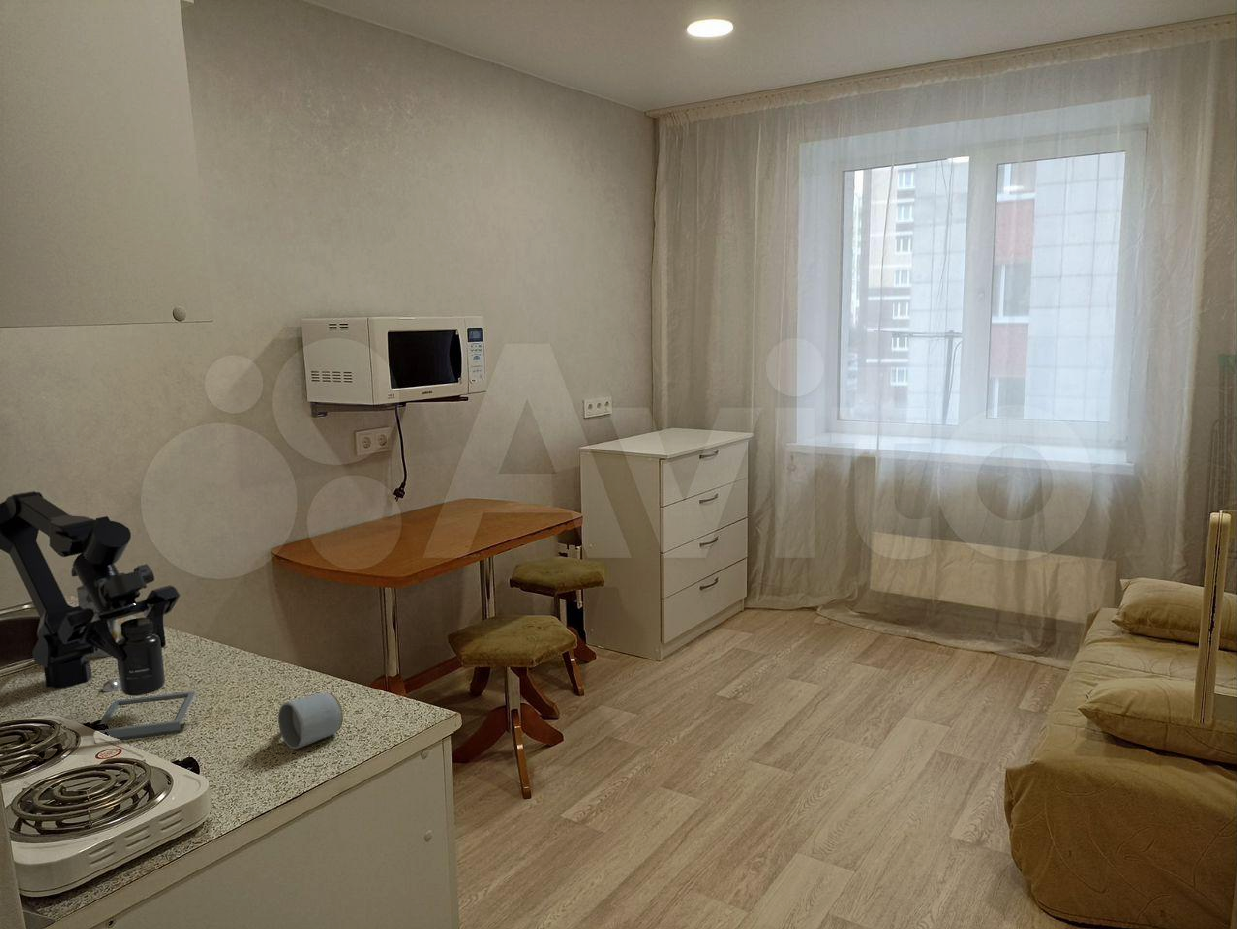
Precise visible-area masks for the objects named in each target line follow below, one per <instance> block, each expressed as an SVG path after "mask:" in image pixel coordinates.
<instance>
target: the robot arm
mask: <svg viewBox="0 0 1237 929" xmlns="http://www.w3.org/2000/svg"><path fill="white" fill-rule="evenodd" d="M39 531H41V533H43V534H44V535H46V536H47V537H48V538H49V547H50V548H51V549H52V550H53V552H55V553H56V554H57V555H58V556H60V557H62V558H65V557H66V558H67V557H71V556H76V555H77V557H76V558H75V560H74V561H73V564H72V569H71V571H70V572H71V576H72V577H73V578H74V577H78V579H79V581H80V583H81V584H82V585H83V586H84V588H85V589H86V591H87V593H88V595H87V597H86V599H87V601H88V603H89V602H93V604H94V605H95V607H96V609H97V611H98V612H99V613H97V612H93V610H92V609H90V608H86V609H83V608H82V607H80V606H79V605H76V606H73V605H70V604H69V603H68V602H67V600H66V598H65V596H64V594H63V592H62V590H61V588H60V586H59V584H58V582H57V580H56V577H55V576H54V573H53V572H52V570H51V568H50V566H49V564H48V561H47V560H46V558H45V556H44V553H43V552H42V550H41V548H40V545H39V543H38V541H37V539H38V535H39V533H40V532H39ZM131 534H132V532H131V530H130V529H129V527H127V526H126V525H124V524H123V523H121V522H118V521H115V520H111V519H110V518H109V516H108V515H104V516H100V517H96V518H95V519H94V518H91V517H89V516H88V517H87V516H85V515H71V514H69V513H68V512H66V511H64V510H63V509H62V508H60V507H58V506H56V505H55V504H53V503H52V502H51V501H49V500H47V499H46V498H45V497H43V494H42V493H41V492H40V491H35V490H33V491H32V490H31V491H26V492H21V493H19V492H18V493H15V494H14V493H13V494H12V495H10V496H7V498H6V499H5V500H4V501H3V502H1V503H0V550H1V551H2V552H5V553H7V554H8V555H9V556H10V558H11V560H12V562H13V564H14V566H15V568H16V570H17V572H18V575H19V576H20V579H21V580H22V582H23V585H24V587H25V589H26V591H27V593H28V595H29V597H30V600H31V601H32V604H33V605H34V608H35V609H36V612H37V614H38V616H39V618H40V620H39V624H38V626H37V627H38V628H37V631H36V635H37V639H38V640H37V641H36V643H35V646H34V648H33V649H32V651H31V653H32V658H33V660H34V663H35V664H37V665H39V666H41V667H43V670H44V678H45V686H46V688H53V689H65V688H70V687H74V686H75V687H76V686H78V685H81V684H82V685H83V684H87V683H89V682H90V680H91V679H92V677H93V675H92V668H91V661H89V660H87V658H86V655H87V654H92V653H94V647H96V648H98V649H100V650H102V651H104V652H106V653H107V654H109V655H111V656H110V657H112V658H114V659H115V660H116V661H117V660H119V661H123V660H124V659H125V657H124V655H123V652H122V650H121V648H120V647H119V645H118V644H117V642H116V640H115V639H114V637H113V636H112V634H111V632H110V631H109V628H108V623H107V622H110V621H113V620H116V619H120V618H123V617H127V616H130V615H132V616H133V615H137V614H139V613H142V614H143V615H144V616H145V617H144V618H149V619H151V620H152V625H153V631H152V632H153V633H155V634H157V635H158V636H159V637H160V639H161V647H162V649H163V648H165V647H166V645H167V643H166V635H165V629H164V615H167V614H169V613H170V612H172V610H173V608H174V607H175V605H176V604H177V602H178V600H179V599H180V597H181V594H180V593H179V591H178V589H177V588H176V587H175V586H173V585H167V586H163V587H159V588H155V589H152V590H151V591H150V592H149V594H148V596H147V597H146V599H143V600H139V601H136V599H137V598H140V595H141V592H140V590H142V589H147V588H148V586H147V584H150V583H152V582H154V580H155V576H154V572H153V570H152V569H151V567H150V566H149V565H148V564H147V563H146V564H143V565H142V564H141V565H138V566H137V567H135V568H134V569H133V571H130V572H127V573H125V572H120V571H119V570H118V568H117V566H116V565H115V564H116V563H118V561H120V559H121V557H122V555H123V553H124V551H125V550H126V548H127V546H128V544H129V542H130V540H131V536H132V535H131Z"/></svg>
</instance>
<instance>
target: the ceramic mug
mask: <svg viewBox="0 0 1237 929" xmlns="http://www.w3.org/2000/svg"><path fill="white" fill-rule="evenodd" d="M343 723H344V713H343V708H342V705H341V703H340V701H339V699H338V698H337V696H335V695H334V694H333V693H331V692H319V693H318V692H316V693H314V694H311V695H308V696H304V697H301V698H300V697H299V698H297V699H294V700H290V701H286V702H284V703H282V704H281V705H280V707H279V709H278V712H277V724H278V729H279V732H280V735H281V737H282V739H283V742H284V743H285V745H287V747H289V749H292V750H299V749H302V748H304V747H306V746H309V745H311V744H314V743H316V742H318V741H320V740H323V739H325V738H328V737H331V736H333V735H334V734H336V733H337V732H338V731H340V729H341V728H342V726H343Z"/></svg>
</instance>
